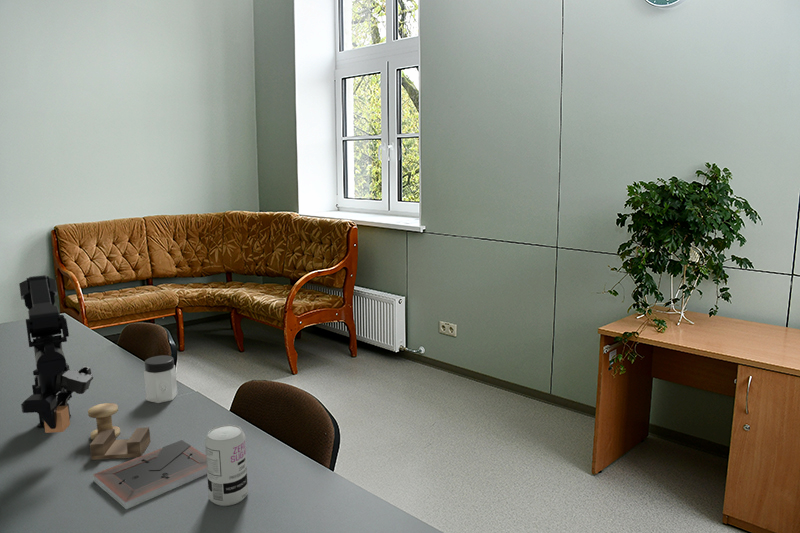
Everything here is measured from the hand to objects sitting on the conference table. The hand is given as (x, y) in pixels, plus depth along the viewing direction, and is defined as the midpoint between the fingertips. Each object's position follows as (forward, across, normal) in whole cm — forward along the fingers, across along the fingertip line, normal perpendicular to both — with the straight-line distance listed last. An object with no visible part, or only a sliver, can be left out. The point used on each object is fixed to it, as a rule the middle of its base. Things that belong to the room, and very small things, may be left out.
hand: (57, 424), depth 147 cm
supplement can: (+9, -23, -44) cm, 50 cm away
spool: (+8, +10, -7) cm, 15 cm away
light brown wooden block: (+1, 0, 0) cm, 1 cm away
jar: (+8, +34, -15) cm, 38 cm away
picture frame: (+9, -12, -26) cm, 30 cm away
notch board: (+8, +1, -14) cm, 16 cm away
